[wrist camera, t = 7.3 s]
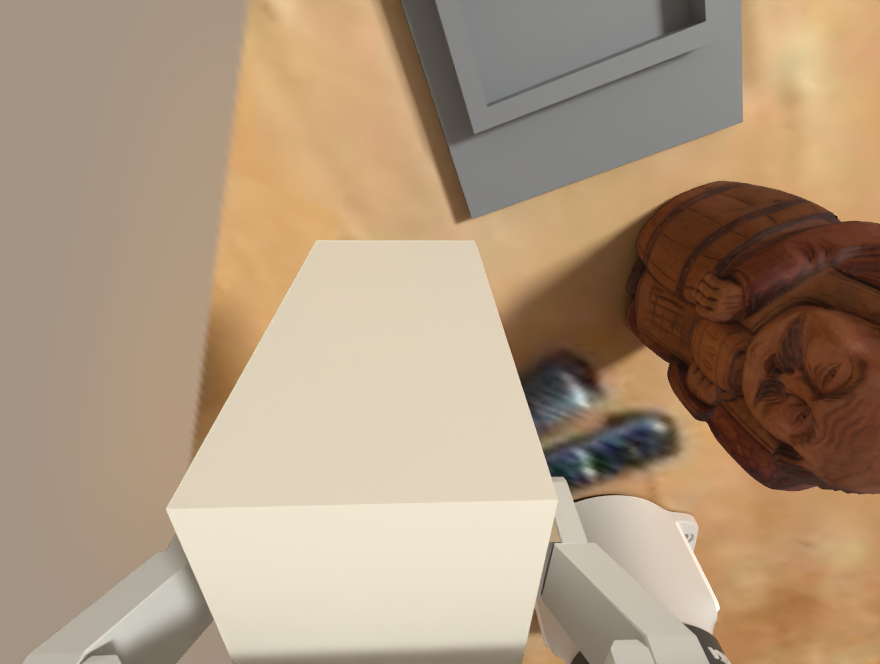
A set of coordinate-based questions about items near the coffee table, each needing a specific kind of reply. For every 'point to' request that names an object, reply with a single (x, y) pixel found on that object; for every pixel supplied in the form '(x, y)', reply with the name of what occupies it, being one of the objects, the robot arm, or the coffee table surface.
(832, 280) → the wooden figurine
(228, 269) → the coffee table surface
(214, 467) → the product carton
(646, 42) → the display base
